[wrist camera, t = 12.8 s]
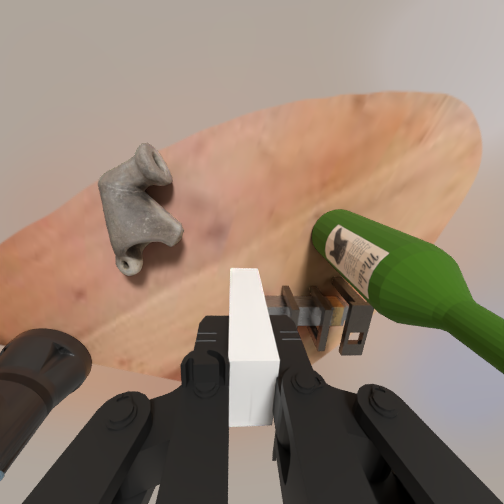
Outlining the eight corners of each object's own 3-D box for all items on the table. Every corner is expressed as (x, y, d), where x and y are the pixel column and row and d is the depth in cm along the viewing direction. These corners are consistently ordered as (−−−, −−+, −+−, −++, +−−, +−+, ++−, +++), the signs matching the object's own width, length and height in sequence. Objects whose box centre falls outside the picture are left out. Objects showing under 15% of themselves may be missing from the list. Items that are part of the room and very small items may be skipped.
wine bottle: (315, 206, 41) (557, 327, 10) (364, 210, 42) (718, 333, 11) (306, 254, 44) (474, 457, 13) (352, 257, 45) (606, 453, 14)
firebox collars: (278, 322, 49) (289, 359, 39) (283, 275, 45) (296, 304, 36) (336, 322, 50) (360, 358, 40) (346, 277, 46) (374, 305, 37)
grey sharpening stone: (257, 313, 48) (259, 325, 44) (259, 295, 46) (261, 306, 42) (343, 313, 49) (352, 325, 45) (347, 296, 48) (357, 307, 44)
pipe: (137, 202, 46) (162, 272, 43) (83, 201, 40) (107, 284, 37) (173, 142, 36) (209, 229, 33) (108, 126, 29) (145, 234, 26)
